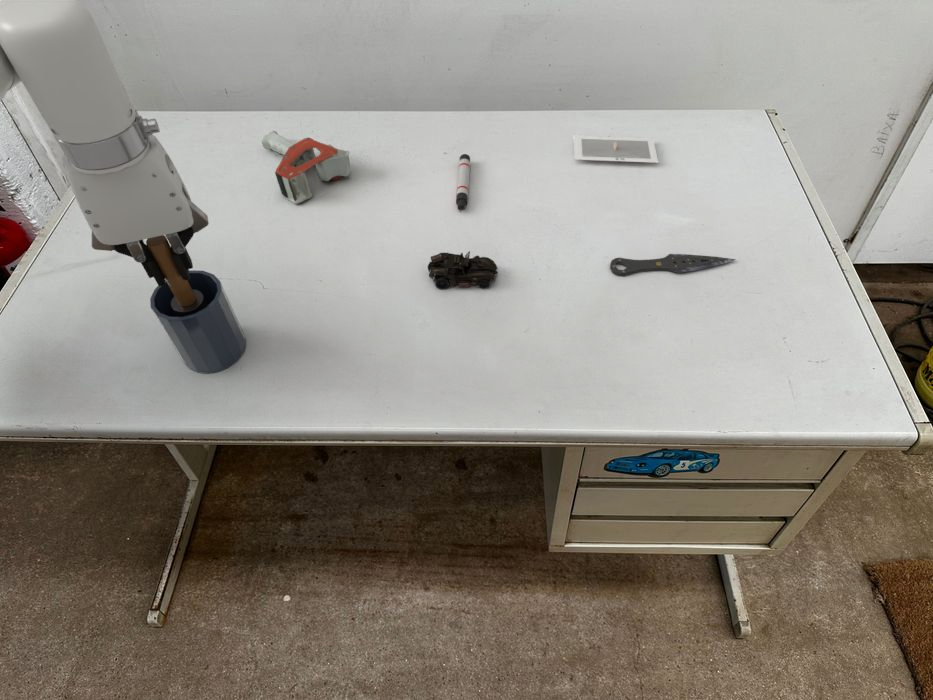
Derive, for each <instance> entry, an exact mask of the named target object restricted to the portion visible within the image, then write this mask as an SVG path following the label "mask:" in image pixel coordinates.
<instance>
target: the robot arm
mask: <svg viewBox="0 0 933 700" xmlns="http://www.w3.org/2000/svg"><path fill="white" fill-rule="evenodd" d="M20 83H22V85H23V86H24V88H25V89H26V91H27V93H28V95H29V96H30V98H31V99H32V101H33V103H34V105H35V107H36V108H37V110H38V112H39V113H40V116H41V117H42V118H43V120H44V122H45V124H46V125H47V127H48V129H49V131H50V132H51V134H52V135H53V138H54V139H55V141H56V142H57V144H58V146H59V148H60V149H61V151H62V152H63V153H62V165H63V168H64V172H65V174H66V177H67V181H68V183H69V185H70V188H71V191H72V193H73V195H74V198H75V200H76V202H77V204H78V206H79V209H80V211H81V213H82V215H83V217H84V219H85V221H86V222H87V225H88V226H89V229H90V230H91V248H92V249H94V250H96V251H108V252H113V251H115V252H116V253H119V254H121V255H124V256H127V257H130V258H132V259H133V260H134V261H135V262H136V263H139V264H141V266H142V267H143V269H144V271H145V273H146V274H147V277H148V278H149V279H152V278H154V280H155V282H156V284H157V286H163V285H164V284H165V278H164V276H163V274H162V272H161V270H160V268H159V267H158V265H157V263H156V261H155V259H154V257H153V255H152V253H151V252H150V250H149V248H148V246H147V244H146V241H145V240H147V239H148V238H153V237H157V236H162V235H164V236H166V238H167V240H168V242H169V244H170V246H171V250H172V251H171V253H172V259H173V261H174V263H175V265H176V267H177V269H178V271H179V273H180V275H181V277H182V278H183V280H184V279H185V280H189V279H190V276H189V271H190V269H191V270H192V269H193V268H194V265H193V261H192V258H191V256H190V254H189V252H188V250H187V248H186V247H187V246H188V244H189V243H190V242H191V240H192V239H193V237H194V234H196V233H199V232H200V231H202V230H203V229H205V228H206V227H208V226H209V217H208V215H207V214H206V212H204V210H202V209H201V208H200V207H199V206H197V205H196V204H195V203H194V202H193V201H192V199H191V196H190V194H189V191H188V189H187V187H186V185H185V183H184V181H183V179H182V177H181V175H180V173H179V172H178V170H177V168H176V166H175V164H174V162H173V160H172V158H171V157H170V156H169V154H168V152H167V151H166V149H165V148H164V146H163V145H162V143H161V142H160V140H159V139H158V138H157V137H156V136H155V135H154V134H156V133H160V132H161V131H160V127H159V126H160V125H159V123H158V121H157V119H156V118H149V119H148V118H143V117H142V115H140V114H139V112H138V110H137V109H135V108H134V105H133V103H132V101H131V99H130V96H129V94H128V92H127V89H126V88H125V85H124V83H123V81H122V78H121V76H120V75H119V72H118V70H117V68H116V66H115V63H114V61H113V58H112V57H111V54H110V52H109V50H108V48H107V45H106V44H105V42H104V40H103V37H102V35H101V32H100V31H99V28H98V26H97V24H96V22H95V20H94V18H93V16H92V14H91V12H90V11H89V10H88V8H86V6H85V5H84V4H83V3H82V2H80V1H79V0H0V102H1V101H2V100H3V99H4V98H5V96H6V94H7V92H9V91H11V90H12V89H13V88H14V87H16V86H18V85H19V84H20Z"/></svg>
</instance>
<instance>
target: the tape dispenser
mask: <svg viewBox="0 0 933 700" xmlns="http://www.w3.org/2000/svg"><path fill="white" fill-rule="evenodd" d="M261 144H262V147H263V149H265V150H271V151H273V152H275V153H279V154H280V155H282V156H283V157H282V158H281V161H279V162H280V163H279V164H278V165H277V167H276V169H275V172H274V174H275V177H276V181H277V183H278V187H279V189H280V193H281V195H282V196H283V197H284V199H286V200H288V202H289V201H290V202H291V203H292V204H294V205H299V204H300V203H303V202H304V201H307V200H309V199H311V197H312V192H311V189H310V186H309V182H308V180H307V175H306V173H305V172H306V171H307V170H308V169H310V168H312V167H313V166H315V170H316V173H317V175H318V177H319V179H320V180H322V181H325V182H329V181H330V180H333V181H337V180H340V178H341V176H343V177H348V176H349V175H350V173H351V161H350V151H349V150H343V149H339V148H337V147H334V146H333V145H332V144H326V143H322V142H319V141H317V140H314V139H313V138H311V137H304V138H303V139H300V140H299V141H297V142H293V141H291V140H290V139H288V138H286V137H284V136H283V135H280V134H279V133H278V131H277V130H271V131H269V132H268V133H267V134H265V135H263V137H262V139H261ZM314 149H316V150H317V151H319V154H318V155H317V156H316V154H315V150H314Z"/></svg>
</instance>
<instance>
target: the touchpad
mask: <svg viewBox="0 0 933 700" xmlns="http://www.w3.org/2000/svg"><path fill="white" fill-rule="evenodd" d="M572 136H573V153H574V160H575V161H576V160H578V161H601V162H603V161H604V162H629V163H630V162H631V163H652V164H653V163H656V164H657V163H659V159H658V156H657V151H656V145H655V142H654V138H653V137H631V136H630V137H629V136H628V137H627V136H602V135H598V136H597V135H574V134H573V135H572Z"/></svg>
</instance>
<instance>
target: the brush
mask: <svg viewBox="0 0 933 700" xmlns="http://www.w3.org/2000/svg"><path fill="white" fill-rule="evenodd" d="M145 244H146V245H147V246H148V248H149V250H150V252H151V253H152V255H153V257H154V259H155V261H156V263H157V265H158V267H159V268H160V270H161V272H162V274H163V276H164V278H165V280H166V281H167V283H168V285H169V287H170V289H171V291H172V293H173V295H174V297H173V299H172V301H171V307H172V309H173V311H174V312H175V314H176V316H177V317H184V316H188V315H192V314H195V313H197V312H199V311H201V310H203V309H204V308H206V307H207V306H208V304H207V302H206V300H205V298H204V296H203V294H202V293H201V292H200V291H198V290H195V289H191V287H190V285H189V283H188V281H187V280H185V279H184V280H183V278H182V277H181V275H180V273H179V271H178V269H177V267H176V265H175V263H174V261H173V259H172V253H171V251H172V250H171V245H170V243H169V241H168V239H167V237H166V235H162V236H157V237H153V238H148V239H145Z"/></svg>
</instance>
